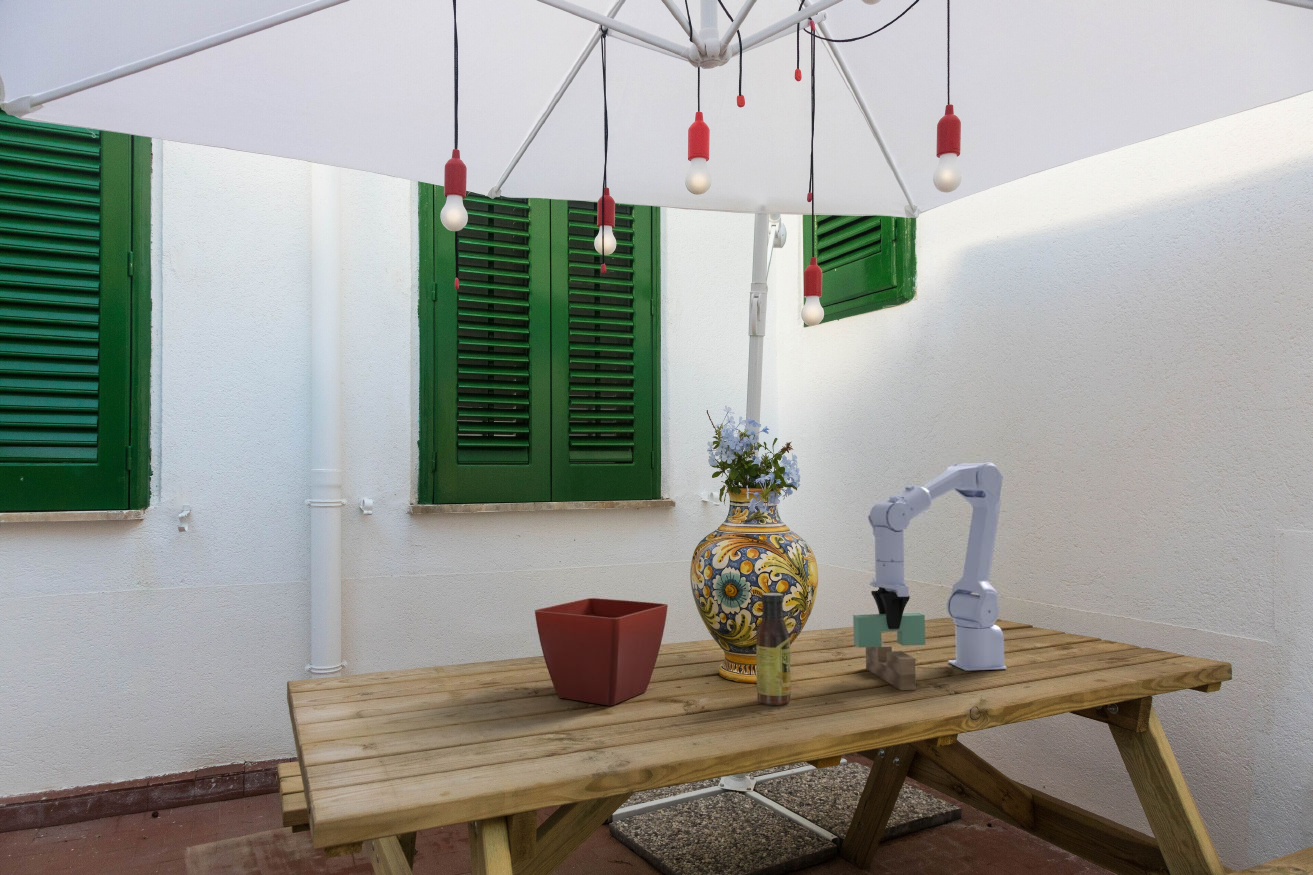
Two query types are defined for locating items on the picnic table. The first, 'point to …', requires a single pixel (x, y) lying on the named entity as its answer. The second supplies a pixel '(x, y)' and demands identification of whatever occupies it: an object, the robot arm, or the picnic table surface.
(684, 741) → the picnic table surface
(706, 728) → the picnic table surface
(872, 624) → the green notched bar
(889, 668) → the walnut notched bar
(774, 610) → the sauce bottle
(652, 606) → the plant pot
